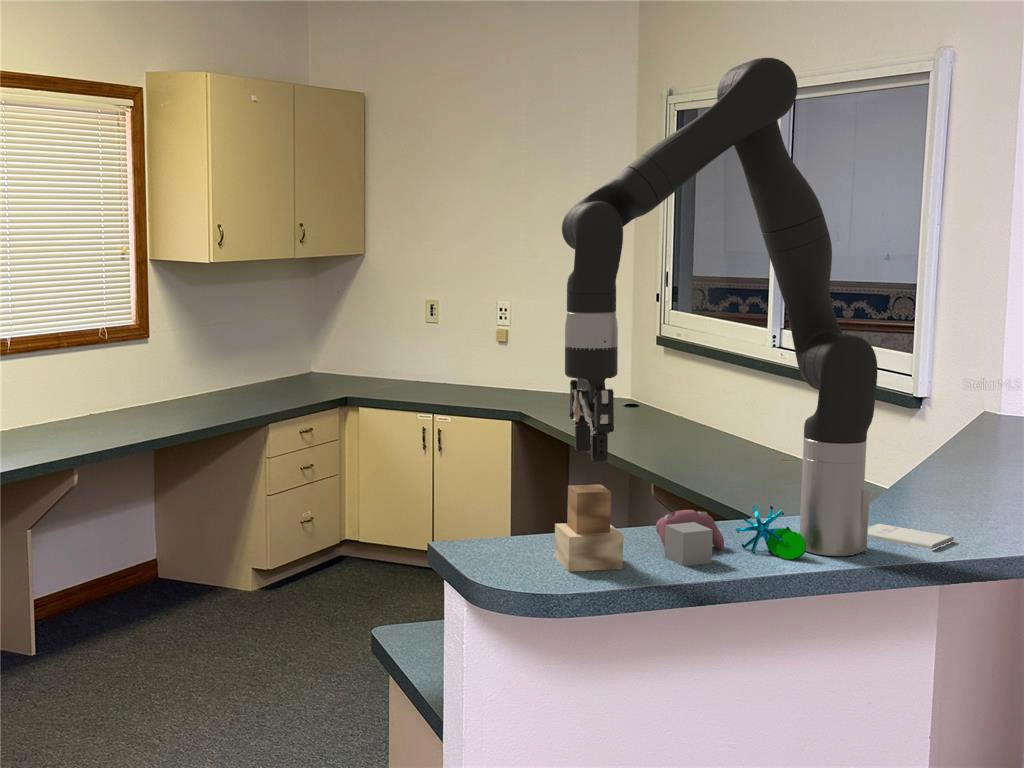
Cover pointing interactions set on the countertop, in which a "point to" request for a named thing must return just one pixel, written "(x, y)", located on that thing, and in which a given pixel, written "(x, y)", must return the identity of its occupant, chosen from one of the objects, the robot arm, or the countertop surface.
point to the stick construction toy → (775, 537)
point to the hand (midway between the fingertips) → (590, 455)
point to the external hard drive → (908, 536)
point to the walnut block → (589, 509)
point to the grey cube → (688, 543)
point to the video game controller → (689, 517)
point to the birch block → (588, 549)
